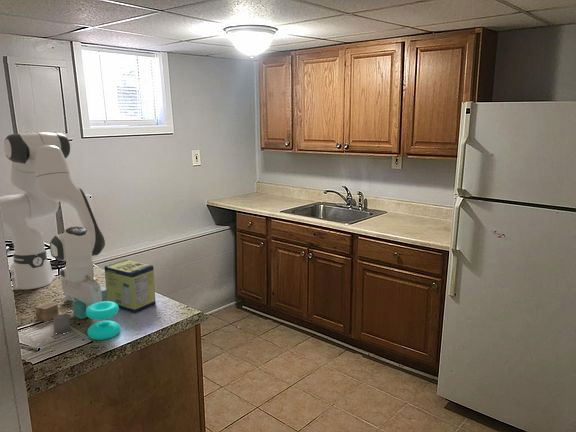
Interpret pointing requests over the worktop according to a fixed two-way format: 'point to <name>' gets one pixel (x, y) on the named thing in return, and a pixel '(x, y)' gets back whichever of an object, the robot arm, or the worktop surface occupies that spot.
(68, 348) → the worktop surface
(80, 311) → the teal block
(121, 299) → the protein box
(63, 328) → the charcoal cylinder
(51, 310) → the walnut block
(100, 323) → the donuts
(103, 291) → the slate blue block
